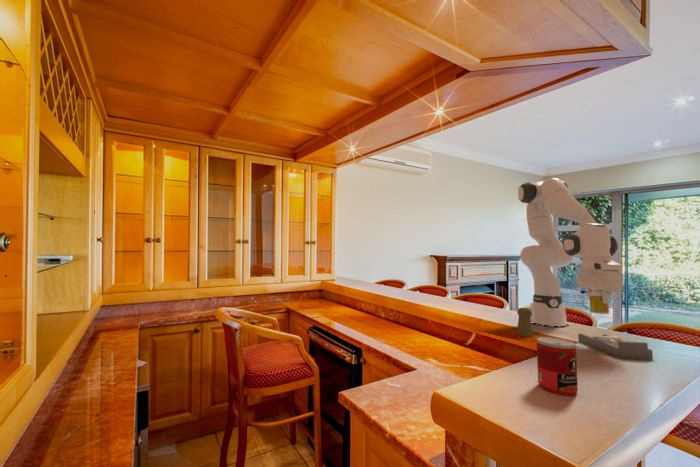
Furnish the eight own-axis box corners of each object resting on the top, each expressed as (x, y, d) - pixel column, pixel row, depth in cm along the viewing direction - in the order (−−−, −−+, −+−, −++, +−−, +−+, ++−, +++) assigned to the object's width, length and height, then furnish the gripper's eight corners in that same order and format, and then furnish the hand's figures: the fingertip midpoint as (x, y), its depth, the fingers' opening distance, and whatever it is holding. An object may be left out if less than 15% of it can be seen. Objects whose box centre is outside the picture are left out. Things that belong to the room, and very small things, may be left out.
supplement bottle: (592, 313, 113) (590, 286, 114) (589, 311, 118) (587, 286, 119) (611, 314, 111) (608, 287, 112) (607, 313, 115) (605, 286, 116)
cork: (514, 335, 127) (514, 308, 128) (519, 332, 131) (518, 306, 132) (531, 337, 123) (530, 309, 124) (535, 335, 127) (534, 308, 128)
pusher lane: (578, 341, 119) (578, 327, 119) (606, 342, 117) (606, 329, 118) (617, 357, 98) (617, 341, 98) (652, 359, 97) (651, 343, 97)
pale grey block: (597, 345, 110) (597, 335, 110) (618, 346, 109) (617, 336, 110) (604, 347, 107) (603, 338, 107) (625, 348, 106) (624, 339, 106)
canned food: (564, 398, 67) (562, 346, 68) (530, 385, 74) (528, 338, 75) (586, 393, 70) (583, 343, 71) (551, 380, 77) (549, 336, 78)
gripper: (571, 264, 127) (573, 298, 125) (605, 265, 107) (608, 305, 105) (588, 265, 126) (590, 299, 125) (625, 265, 106) (628, 306, 104)
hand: (598, 302), depth 115 cm, fingers closed on supplement bottle, 5 cm apart
